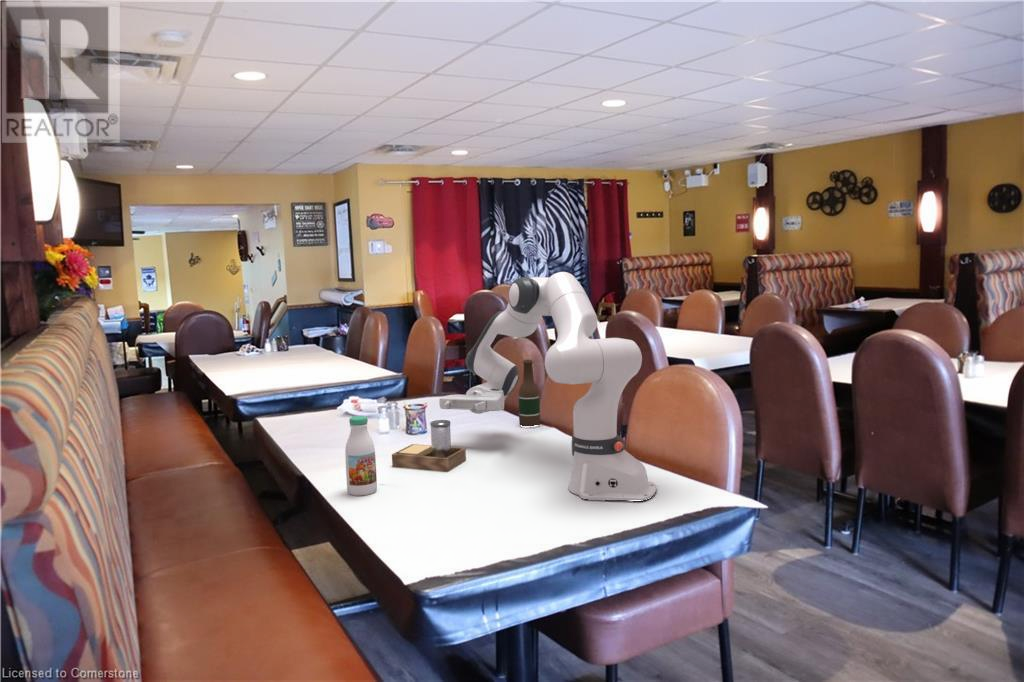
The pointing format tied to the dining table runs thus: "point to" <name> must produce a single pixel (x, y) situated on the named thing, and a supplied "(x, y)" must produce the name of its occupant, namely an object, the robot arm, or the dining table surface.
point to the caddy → (429, 460)
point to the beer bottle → (528, 398)
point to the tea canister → (440, 438)
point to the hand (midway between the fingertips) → (460, 407)
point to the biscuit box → (417, 450)
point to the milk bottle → (360, 459)
